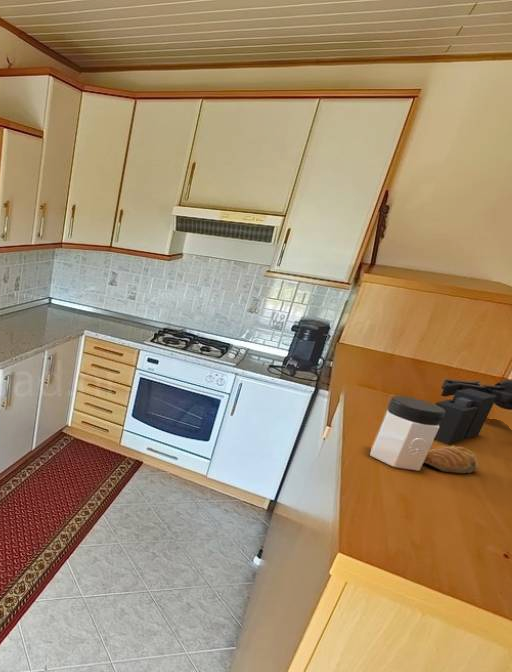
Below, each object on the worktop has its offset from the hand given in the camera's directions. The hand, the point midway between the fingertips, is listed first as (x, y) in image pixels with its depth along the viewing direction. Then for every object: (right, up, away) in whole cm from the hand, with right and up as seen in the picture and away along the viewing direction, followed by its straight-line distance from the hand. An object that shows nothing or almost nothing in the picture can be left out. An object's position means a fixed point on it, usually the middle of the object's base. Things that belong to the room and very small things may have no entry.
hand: (480, 401), depth 113 cm
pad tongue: (-6, -7, 0) cm, 9 cm away
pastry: (-24, -12, -18) cm, 32 cm away
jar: (-34, -11, -17) cm, 40 cm away
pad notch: (-12, -8, -3) cm, 14 cm away
